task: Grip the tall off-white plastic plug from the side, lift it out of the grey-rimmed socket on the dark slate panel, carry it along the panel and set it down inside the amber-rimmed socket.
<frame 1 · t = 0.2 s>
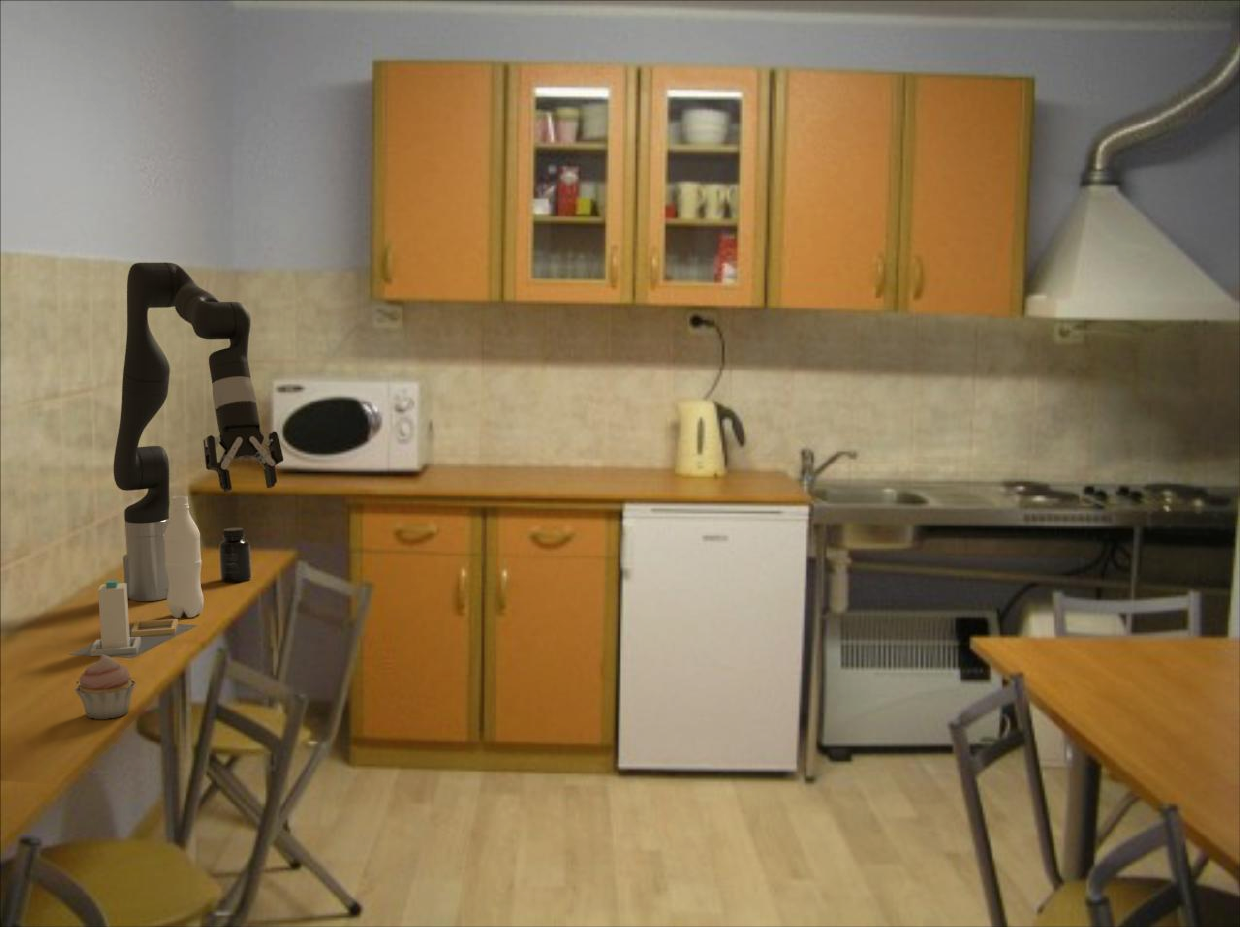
hand: (249, 489, 256), 31 cm above the table, tool tilted 20°, fingers open, 8 cm apart
panel: (136, 642, 267), on the table
supplement bottle: (236, 580, 321), on the table
plug: (116, 648, 261), point 1 cm above the table, touching panel
water bottle: (186, 616, 288), on the table
cupcake: (107, 715, 224), on the table
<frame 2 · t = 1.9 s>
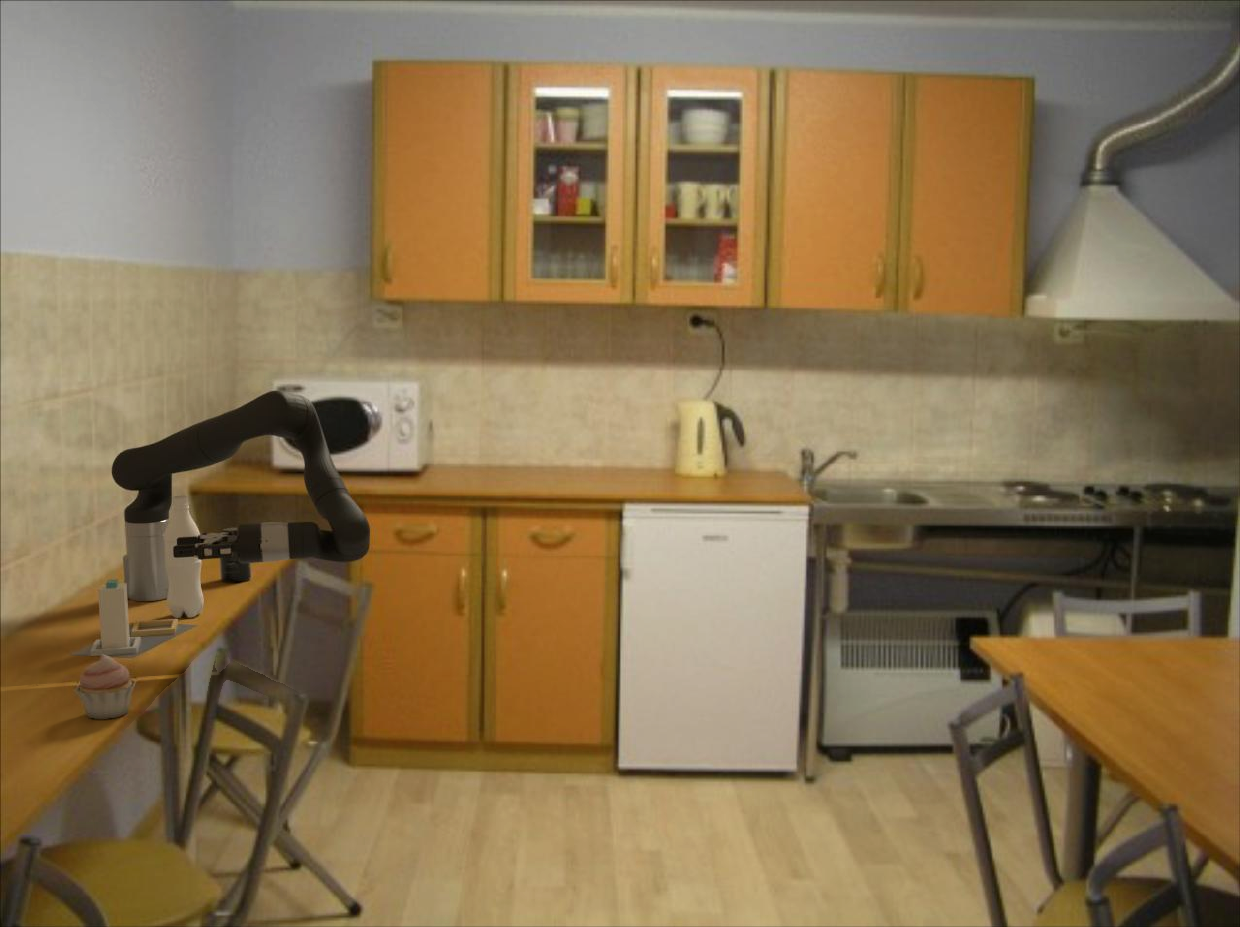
hand: (175, 547, 261), 19 cm above the table, tool horizontal, fingers open, 8 cm apart
nothing on the table moved.
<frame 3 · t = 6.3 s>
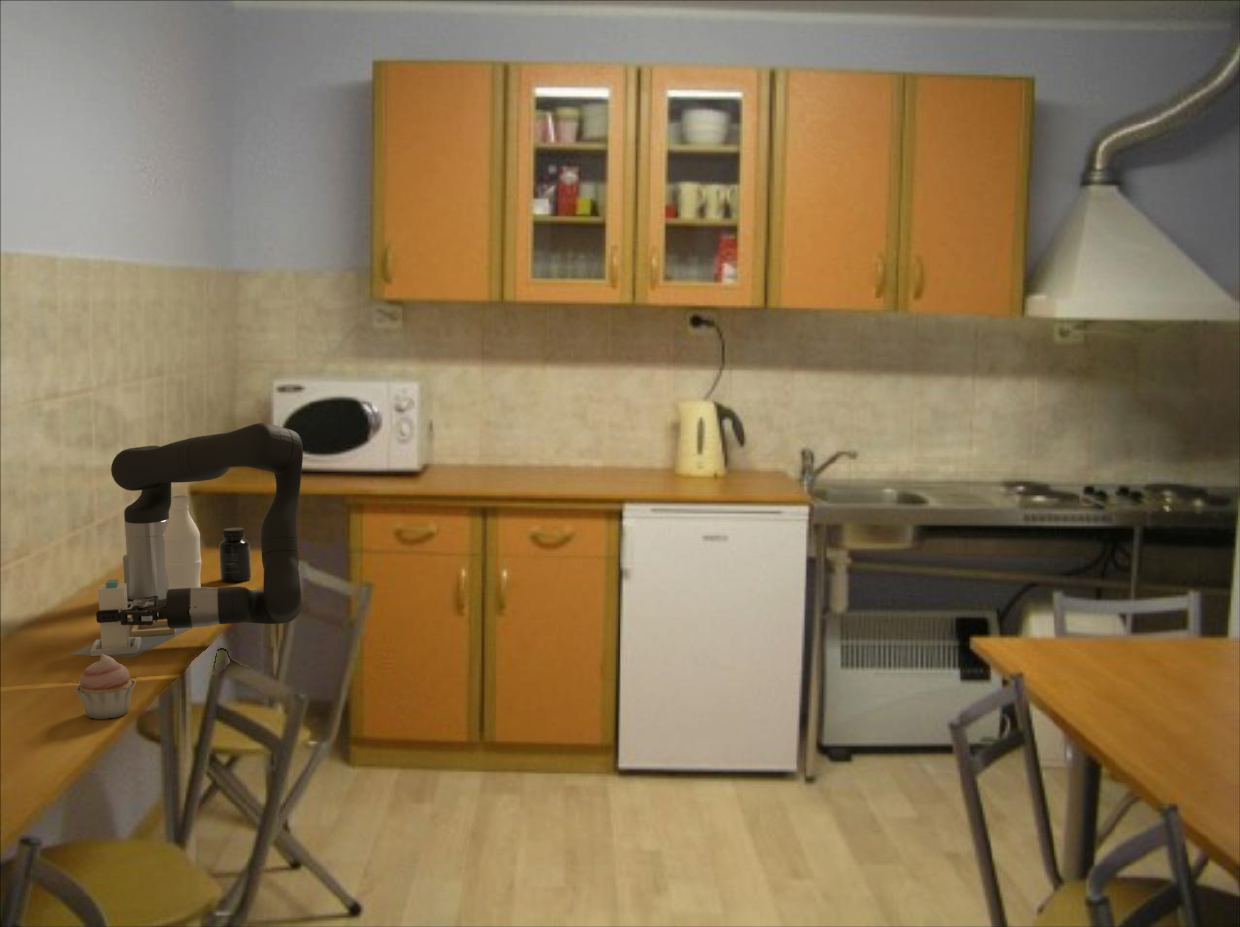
hand: (98, 613, 259), 8 cm above the table, tool horizontal, fingers closed on plug, 4 cm apart
plug: (116, 648, 261), point 1 cm above the table, touching gripper, panel
everything else where it was.
when the fingers open (9 cm above the table, at t = 11.8 s): plug stays where it is, resting on panel.
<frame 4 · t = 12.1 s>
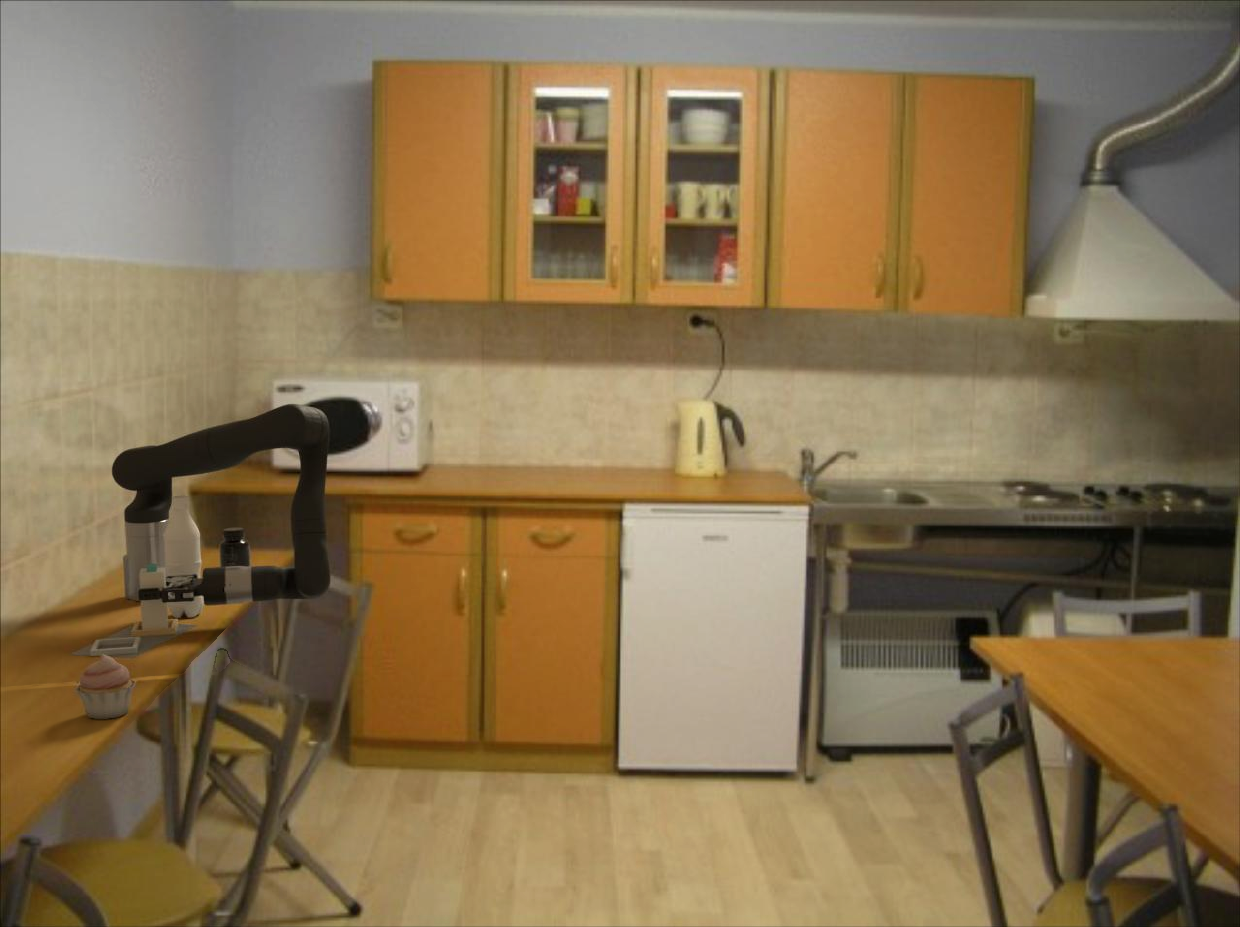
hand: (140, 590, 272), 9 cm above the table, tool horizontal, fingers open, 6 cm apart
plug: (155, 629, 274), point 1 cm above the table, touching panel
everything else where it was.
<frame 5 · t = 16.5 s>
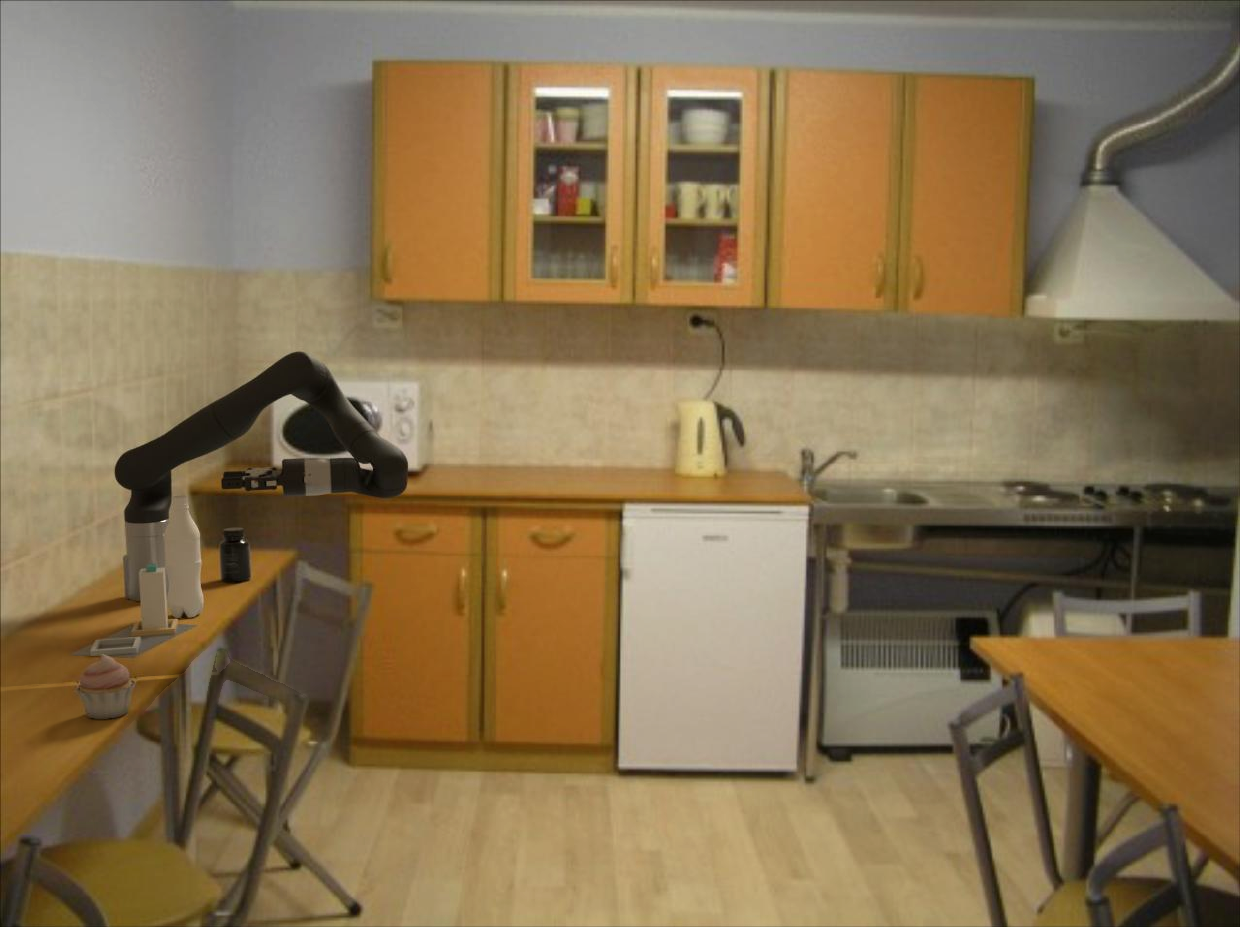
hand: (222, 480, 272), 30 cm above the table, tool horizontal, fingers open, 8 cm apart
nothing on the table moved.
at the end: plug 0.0 cm from the target spot on the panel, point 0.6 cm above the panel's base; plug tilted 0°; the gripper is holding nothing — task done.
